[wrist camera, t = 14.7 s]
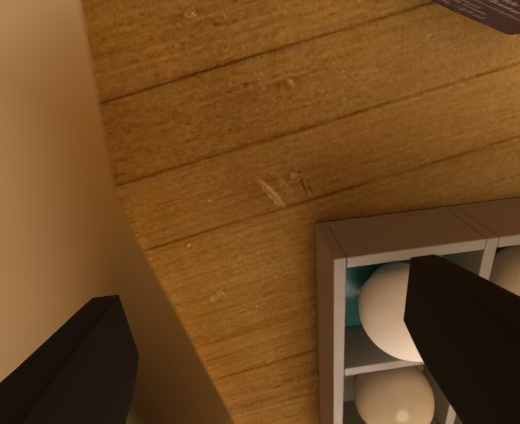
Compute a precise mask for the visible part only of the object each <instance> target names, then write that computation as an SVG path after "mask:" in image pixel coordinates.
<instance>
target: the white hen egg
mask: <svg viewBox="0 0 520 424" xmlns="http://www.w3.org/2000/svg"><path fill="white" fill-rule="evenodd" d="M409 268H410V265H409V264H406V263H402V262H392V263H387V264H385V265H382V266H381V267H379V268H378V269H376V270H375V271H374V272H373V274H372V275H371V277H370V278H369V279H368V280H367V281H366V282H365V283H364V284H363V286H362V288H361V290H360V293H359V297H358V310H359V316H360V320H361V323H362V325H363V328H364V330H365V331H366V333H367V335H368V336H369V337H370V339H371V340H372V341H373V342H374V343H375V344H376V345H377V346H378V347H379V348H380V349H382V350H383V351H384V352H386V353H388V354H389V355H391V356H393V357H396V358H398V359H402V360H406V361H412V362H423V360H422V358H421V357H420V355H419V353H418V351H417V348H416V346H415V344H414V342H413V340H412V338H411V336H410V334H409V332H408V329H407V327H406V325H405V323H404V321H403V319H404V311H405V302H406V294H407V285H408V276H409Z"/></svg>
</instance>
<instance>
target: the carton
mask: <svg viewBox="0 0 520 424" xmlns="http://www.w3.org/2000/svg"><path fill="white" fill-rule="evenodd" d="M315 242H316V283H317V324H318V366H319V407H320V424H366V423H365V422H364V421H363V420H362V418H361V416H360V415H359V413H358V411H357V408H356V405H355V402H354V397H353V385H354V380H355V377H356V374H360V373H367V372H374V371H380V370H387V369H394V368H400V367H407V366H414V365H416V366H417V367H418V368H419V369H420V370H421V371H422V372H423V373H424V375H425V376H426V378H427V379H428V381H429V383H430V385H431V388H432V390H433V394H434V399H435V411H434V416H433V419H432V422H431V424H463V423H462V422H461V420H460V419H459V417H458V416H457V414H456V412H455V411H454V409H453V408H452V406H451V405H450V403H449V402H448V400H447V398H446V397H445V395H444V394H443V392H442V391H441V389H440V387H439V386H438V384H437V383H436V381H435V379H434V378H433V376H432V375H431V373H430V371H429V370H428V368H427V367H426V365H425V363H424V362H412V361H406V360H402V359H398V358H396V357H393V356H391V355H389V354H388V353H386V352H384V351H383V350H382V349H380V348H379V347H378V346H377V345H376V344H375V343H374V342H373V341H372V340H371V339H370V337H369V336H368V335H367V333H366V331H365V330H364V328H363V325H362V323H361V320H360V316H359V310H358V297H359V293H360V290H361V288H362V286H363V284H364V283H365V282H366V281H367V280H368V279H369V278H370V277H371V275H372V274H373V272H374V271H375V270H376V269H378V268H379V267H381V266H382V265H385V264H387V263H392V262H402V263H406V264H409V265H410V259H411V257H417V256H425V255H433V254H435V255H438V256H440V257H442V258H444V259H447V260H449V261H451V262H453V263H455V264H457V265H459V266H461V267H463V268H465V269H467V270H469V271H471V272H473V273H475V274H477V275H479V276H481V277H483V278H485V279H487V280H489V276H490V272H491V268H492V264H493V260H494V256H495V254H496V253H497V252H498V251H500V250H502V249H503V248H505V247H507V246H512V245H520V197H517V198H510V199H502V200H494V201H486V202H478V203H470V204H463V205H455V206H447V207H439V208H431V209H424V210H416V211H408V212H400V213H392V214H385V215H377V216H369V217H361V218H353V219H345V220H338V221H330V222H322V223H316V224H315Z"/></svg>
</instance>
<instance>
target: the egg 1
mask: <svg viewBox="0 0 520 424" xmlns="http://www.w3.org/2000/svg"><path fill="white" fill-rule="evenodd" d="M353 397H354V402H355V405H356V408H357V411H358V413H359V415H360V416H361V418H362V420H363V421H364V422H365V423H366V424H431V422H432V419H433V416H434V411H435V399H434V394H433V390H432V388H431V385H430V383H429V381H428V379H427V378H426V376H425V375H424V373H423V372H422V371H421V370H420V369H419V368H418V367H417V366H416V365H414V366H407V367H400V368H394V369H387V370H380V371H374V372H367V373H360V374H356V377H355V380H354V385H353Z"/></svg>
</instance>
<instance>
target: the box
mask: <svg viewBox="0 0 520 424" xmlns="http://www.w3.org/2000/svg"><path fill="white" fill-rule="evenodd" d="M433 1H435V2H437V3H439V4H441V5H443V6H445V7H447V8H449V9H451V10H453V11H456V12H458V13H461V14H462V15H464V16H467V17H469V18H471V19H473V20H476V21H479V22H481V23H483V24H485V25H488V26H490V27H493V28H495V29H497V30H499V31H502V32H504V33H506V34H509V35H513V34H520V0H433Z"/></svg>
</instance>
